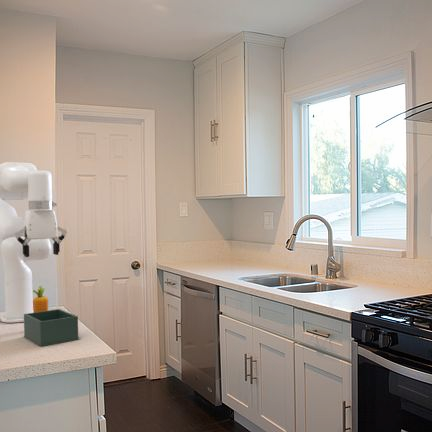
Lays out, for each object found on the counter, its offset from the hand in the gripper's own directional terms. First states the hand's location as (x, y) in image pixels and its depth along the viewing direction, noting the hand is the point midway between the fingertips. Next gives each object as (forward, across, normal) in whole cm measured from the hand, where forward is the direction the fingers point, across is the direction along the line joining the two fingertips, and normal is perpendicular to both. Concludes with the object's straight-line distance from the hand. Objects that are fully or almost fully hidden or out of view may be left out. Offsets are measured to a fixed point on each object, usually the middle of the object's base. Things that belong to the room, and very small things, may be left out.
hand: (41, 255), depth 187 cm
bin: (+26, +2, +14) cm, 29 cm away
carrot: (+26, 0, -2) cm, 26 cm away
